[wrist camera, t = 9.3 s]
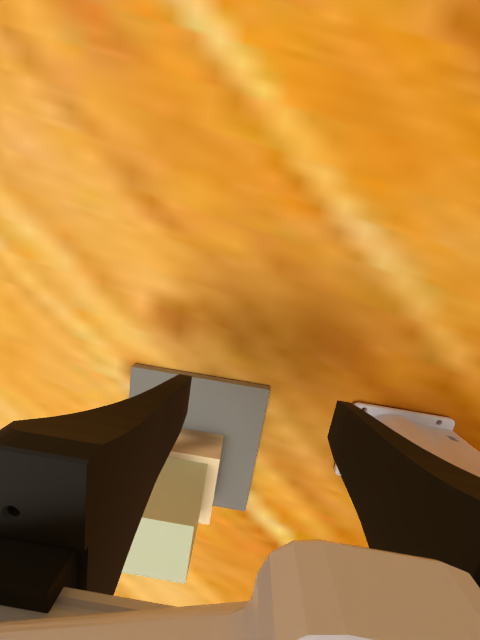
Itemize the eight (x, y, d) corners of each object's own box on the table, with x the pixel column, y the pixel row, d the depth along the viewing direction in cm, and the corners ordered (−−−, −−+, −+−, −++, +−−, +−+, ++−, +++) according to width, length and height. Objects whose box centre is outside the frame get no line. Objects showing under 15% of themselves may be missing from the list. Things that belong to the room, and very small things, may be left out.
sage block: (207, 464, 20) (194, 526, 15) (200, 510, 21) (185, 583, 16) (150, 453, 20) (117, 513, 15) (145, 501, 21) (113, 571, 16)
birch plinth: (223, 435, 23) (220, 459, 20) (214, 493, 24) (209, 524, 21) (153, 423, 23) (138, 445, 20) (147, 482, 24) (133, 511, 21)
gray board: (269, 385, 22) (269, 390, 22) (245, 503, 25) (245, 511, 24) (135, 363, 22) (131, 366, 22) (126, 483, 25) (123, 490, 25)
